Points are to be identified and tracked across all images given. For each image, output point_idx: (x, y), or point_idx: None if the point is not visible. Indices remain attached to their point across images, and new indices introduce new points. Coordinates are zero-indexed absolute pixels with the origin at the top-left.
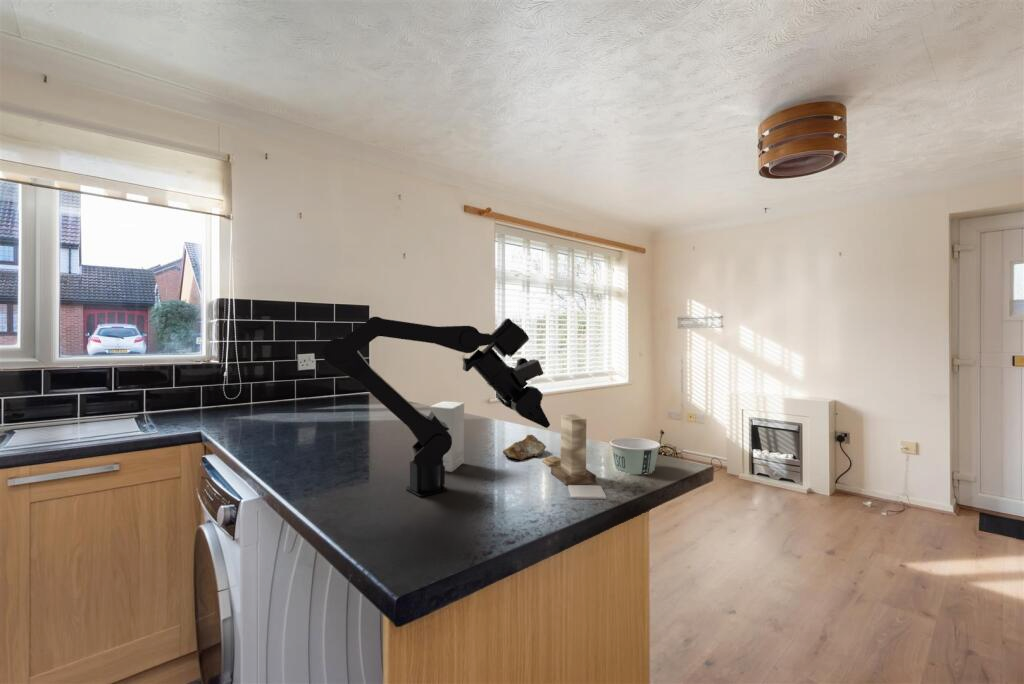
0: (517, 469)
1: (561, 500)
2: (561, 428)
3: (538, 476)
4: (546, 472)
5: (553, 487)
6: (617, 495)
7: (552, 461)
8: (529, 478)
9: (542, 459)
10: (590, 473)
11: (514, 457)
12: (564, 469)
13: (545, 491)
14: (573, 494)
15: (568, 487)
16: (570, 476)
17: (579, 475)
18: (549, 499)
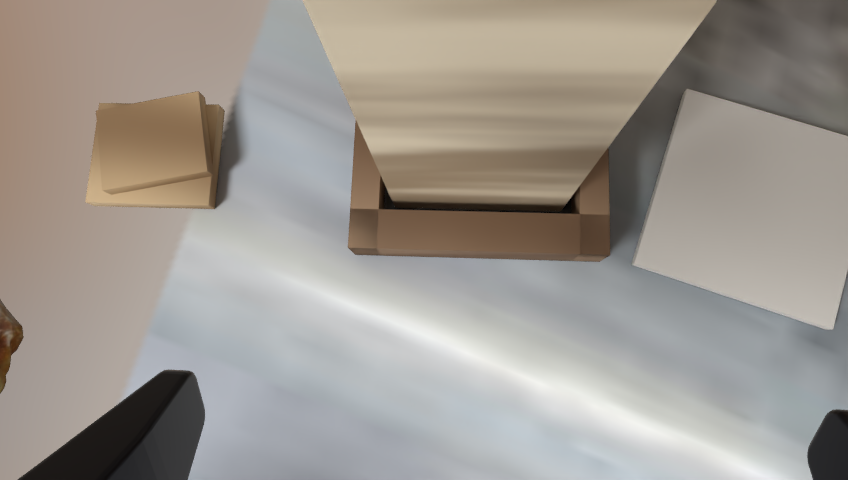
0: None
1: (843, 396)
2: (352, 83)
3: (385, 353)
4: (323, 272)
5: (613, 348)
6: (824, 67)
7: (195, 174)
8: (406, 425)
9: (87, 202)
10: None
11: (1, 389)
12: (454, 196)
13: (672, 425)
14: (803, 302)
15: (674, 276)
16: (586, 215)
17: None
18: None
